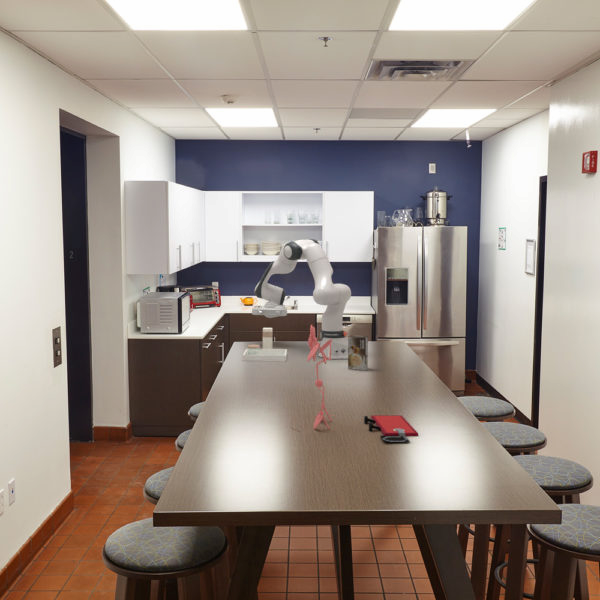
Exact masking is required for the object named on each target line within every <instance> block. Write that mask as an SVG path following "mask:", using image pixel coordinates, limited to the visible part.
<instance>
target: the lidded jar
mask: <svg viewBox="0 0 600 600" xmlns="http://www.w3.org/2000/svg"><path fill="white" fill-rule="evenodd" d="M260 347H261V345H260V344H254V343H253V344H247V349H248V355H259V349H260Z"/></svg>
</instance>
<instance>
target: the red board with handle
mask: <svg viewBox="0 0 600 600" xmlns="http://www.w3.org/2000/svg"><path fill="white" fill-rule="evenodd" d="M370 417H371V418H369V417H368V415H364V417H363V423H364V424H365V425H368V431H369V432H373V429H374V430H378V431H380V432H381V433H382V435H380V436H379V437H380V438H381V440H382V441H383V442H386V443H388V442H389V443H392V442H393V443H395V442H396V443H397V442H398V443H400V442H401V443H403V442H404V443H405V442H408V443H409V442H411V441H410V439H408V437H419V432H418V431H417V430H415V428H414V427H413V426H412V425H411V423H409V421H408V420H407V419H406V418H405V417H404V416H403V415H398V414H397V415H392V414H390V415H389V414H388V415H385V414H384V415H383V414H381V415H379V414H378V415H377V414H375V415H374V414H371V415H370ZM375 423H376V424H375ZM374 424H375V425H374Z"/></svg>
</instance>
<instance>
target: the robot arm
mask: <svg viewBox="0 0 600 600" xmlns="http://www.w3.org/2000/svg"><path fill="white" fill-rule="evenodd" d="M299 260H306V262H307V265H308V267H309V269H310V272H311V274H312V276H313V280H314V290H313V291H312V298H313V301H314V302H315V303H316V304H317V305H320V306H326V308H325V311H324V312H323V313H322V316H321V329H320V347H322V346H323V345H324V344H325V343H326V342H327V341H329V340H330V339H331V340H332V341H331V360H342V359H343V360H346V359H347V360H348V337H347V335H348V332H347V331H345V330H343V317H344V311H345V309H346V305H347V303H348V302H349V300H350V299H351V297H352V291H351V288H350V287H349V285H346V284H344V283H334V282H333V280H332V275H333V273H334V269H333V267H332V264H331V263H330V260H329V257H328V256H327V254H326V251H324V249H323V247H322V246H321V245H320V243H319V241H318V240H317V239H313V238H308V239H299V240H298V239H296V240H293V241H287V242H285V243H284V244H283V246H282V248H281V250H280V252H279V255H278V257H277V259H276V260H274V261H271V262H270V263H269V264H268V266H267V268H266V269H265V271H264V273H263V274H262V277H261V279H260V280H259V282H258V283H257V285H256V286H255V288H254V295H255V296H256V298H258V299H262V300H266V301H267V302H266V303H265V304H264V305H263V307H261V306H259V307H257V306H255V307H253V308H252V309H251V315H253V316H254V315H255V316H264V317H266V318H268V319H273V318H277V317H285V316H287V315H288V308H287V307H286V305H285V304H284V302H285V300H286V295H287V294H286V291H285V289H284V288H282V287H280V286H276V285H273V284H271V283H268V281H269V279H270V278H271V276H273V275H276V274H277V275H278V274H279V275H285V274H286V275H287V274H289V273H292V272H293V271H294V270H295V268H296V266H297V263H298V261H299ZM323 352H324V354H325V355H326V357H328V358H329V355H330V344H329V346H328V347H327V348H326V349H324V350H323ZM318 357H320V358H323V357H322V354H321V353H319V352H318ZM324 358H325V357H324Z"/></svg>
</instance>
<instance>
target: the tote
mask: <svg viewBox="0 0 600 600" xmlns="http://www.w3.org/2000/svg"><path fill="white" fill-rule="evenodd" d="M287 357H288V349H287V348H272V349H263V348H259V355H248V348H245V350H244V351H243V354H242V361H243V362H287Z"/></svg>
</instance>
